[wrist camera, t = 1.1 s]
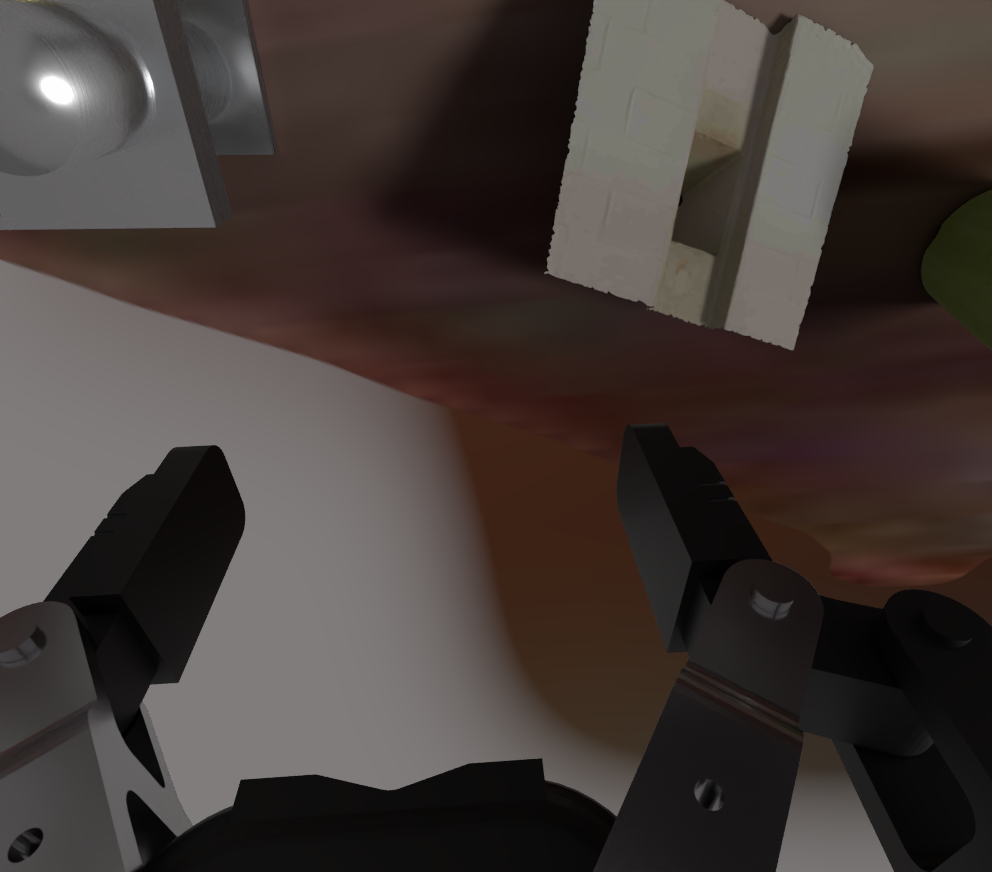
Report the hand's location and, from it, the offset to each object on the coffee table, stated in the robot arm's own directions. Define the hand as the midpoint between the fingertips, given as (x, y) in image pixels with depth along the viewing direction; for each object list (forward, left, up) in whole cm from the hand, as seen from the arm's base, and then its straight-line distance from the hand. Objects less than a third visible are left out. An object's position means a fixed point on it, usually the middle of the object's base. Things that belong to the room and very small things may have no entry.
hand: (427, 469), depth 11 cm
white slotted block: (-3, +13, -25) cm, 28 cm away
